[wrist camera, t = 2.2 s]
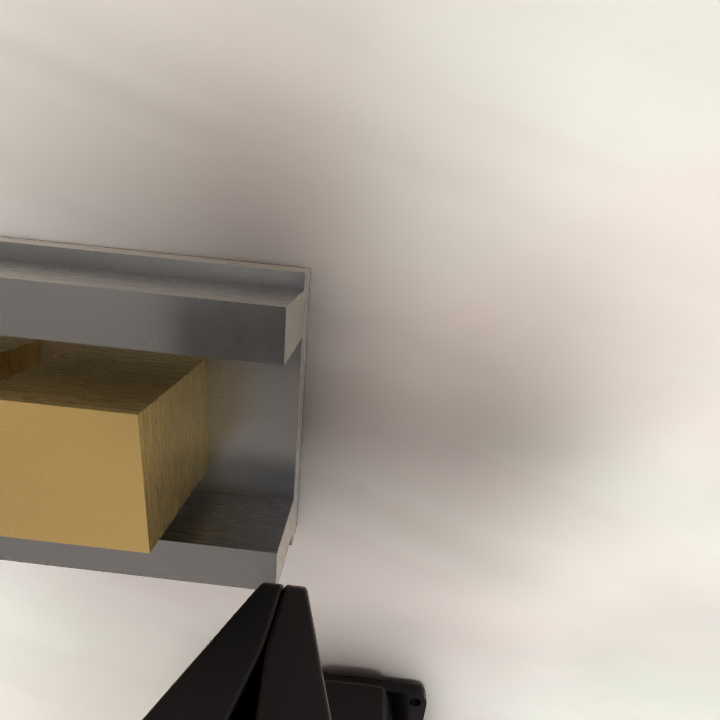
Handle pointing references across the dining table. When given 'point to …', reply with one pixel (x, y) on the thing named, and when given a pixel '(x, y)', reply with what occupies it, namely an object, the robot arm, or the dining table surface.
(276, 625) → the robot arm
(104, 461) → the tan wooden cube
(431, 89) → the dining table surface
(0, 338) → the tan cube
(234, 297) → the slot rail
